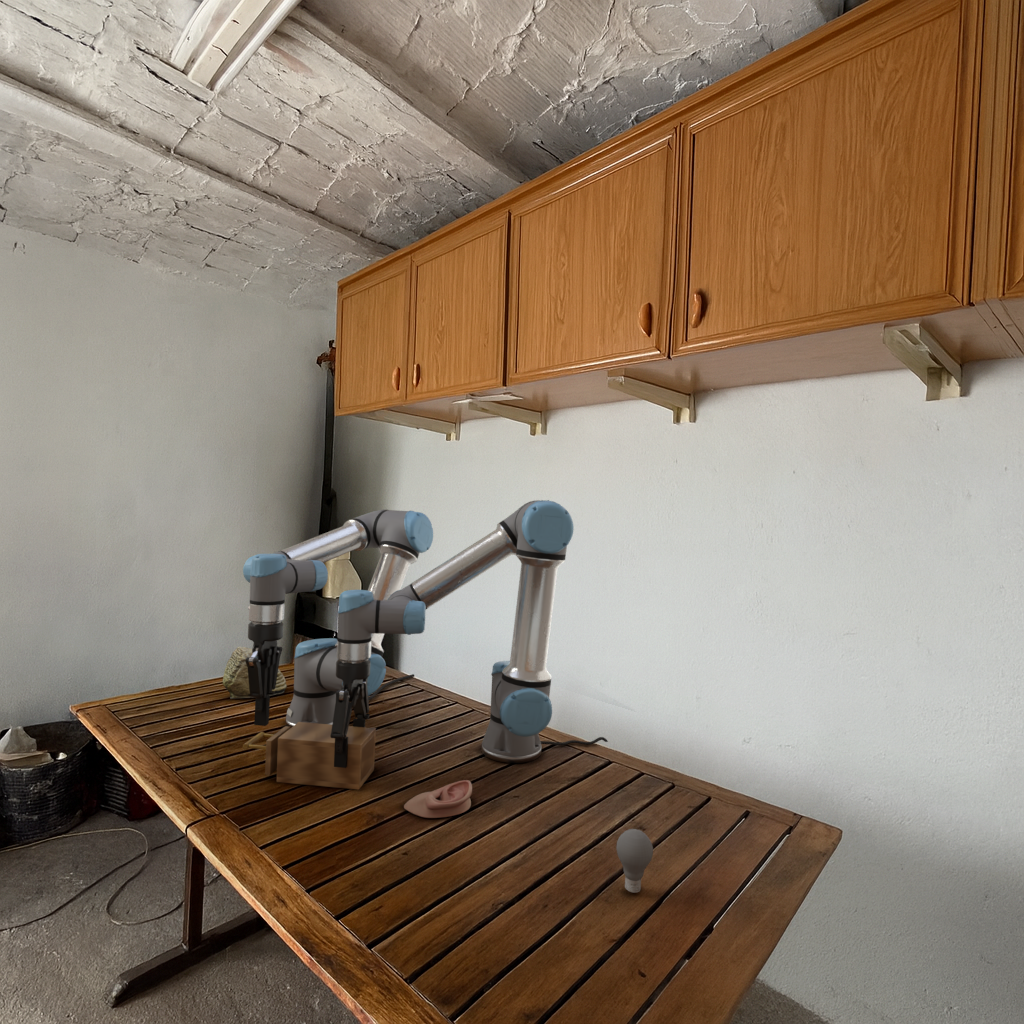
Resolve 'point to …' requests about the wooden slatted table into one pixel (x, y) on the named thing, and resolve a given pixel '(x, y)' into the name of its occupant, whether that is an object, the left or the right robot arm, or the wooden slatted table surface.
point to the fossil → (244, 675)
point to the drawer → (268, 748)
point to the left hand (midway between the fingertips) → (261, 724)
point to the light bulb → (634, 857)
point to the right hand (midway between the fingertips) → (349, 756)
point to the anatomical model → (442, 801)
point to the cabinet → (324, 756)
